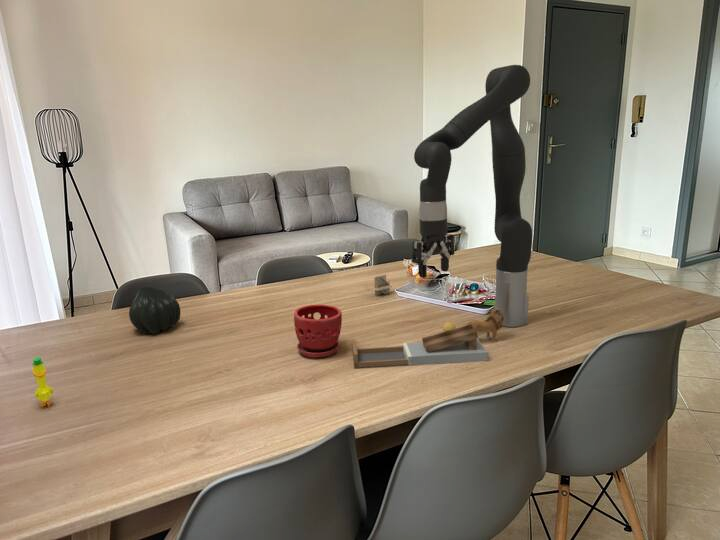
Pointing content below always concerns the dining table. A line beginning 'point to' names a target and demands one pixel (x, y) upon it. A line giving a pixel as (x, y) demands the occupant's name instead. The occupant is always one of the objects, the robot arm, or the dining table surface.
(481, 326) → the lion figurine
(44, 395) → the toy figure
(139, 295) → the squash
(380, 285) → the architectural model
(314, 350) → the plant pot
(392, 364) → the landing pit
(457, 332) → the ramp
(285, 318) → the dining table surface
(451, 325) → the ball
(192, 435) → the dining table surface
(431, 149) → the robot arm
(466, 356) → the deck
